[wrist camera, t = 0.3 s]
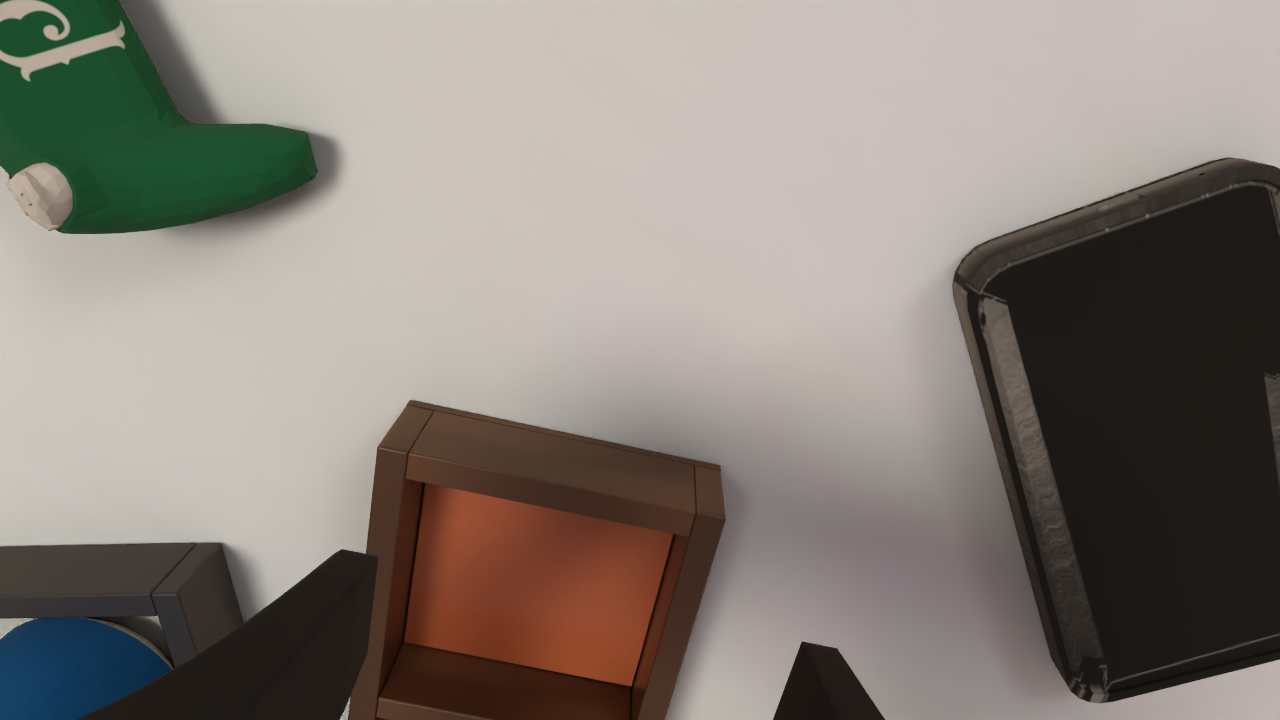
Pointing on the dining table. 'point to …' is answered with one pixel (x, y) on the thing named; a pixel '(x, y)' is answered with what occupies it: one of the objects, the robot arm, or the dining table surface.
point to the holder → (126, 588)
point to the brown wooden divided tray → (530, 572)
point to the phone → (1141, 423)
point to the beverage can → (72, 667)
